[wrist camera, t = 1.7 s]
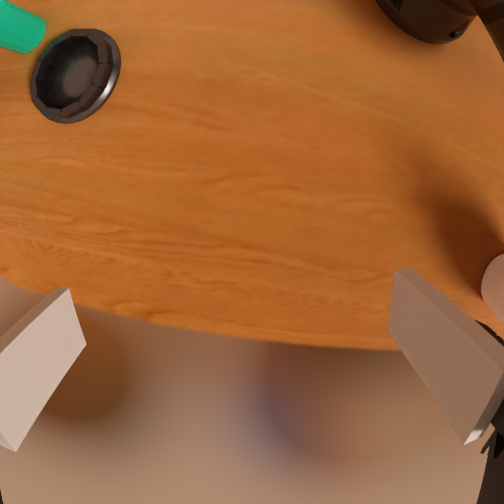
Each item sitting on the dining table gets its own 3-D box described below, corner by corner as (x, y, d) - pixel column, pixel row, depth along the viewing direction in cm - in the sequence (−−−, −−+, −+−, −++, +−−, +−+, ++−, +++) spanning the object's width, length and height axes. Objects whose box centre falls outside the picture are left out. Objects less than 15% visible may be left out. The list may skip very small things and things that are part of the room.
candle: (16, 60, 27) (-37, 47, 15) (16, 31, 25) (-32, 13, 14) (46, 40, 26) (-6, 18, 15) (46, 11, 25) (-1, -15, 13)
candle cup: (57, 30, 26) (47, 25, 24) (135, 33, 28) (128, 25, 25) (28, 118, 30) (16, 117, 27) (102, 130, 31) (91, 129, 29)
